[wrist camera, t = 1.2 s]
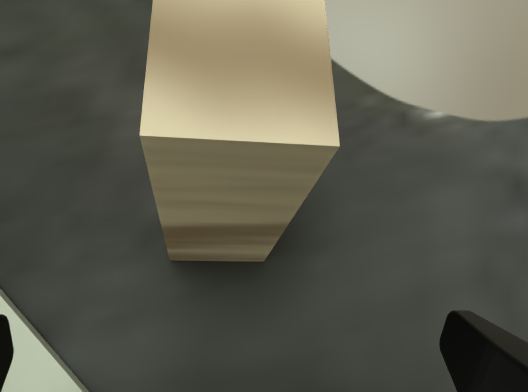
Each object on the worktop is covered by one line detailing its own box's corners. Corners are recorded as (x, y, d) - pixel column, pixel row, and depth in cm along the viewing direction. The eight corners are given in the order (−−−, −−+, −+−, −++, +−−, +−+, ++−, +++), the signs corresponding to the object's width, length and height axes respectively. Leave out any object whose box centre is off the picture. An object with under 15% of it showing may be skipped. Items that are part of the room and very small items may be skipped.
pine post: (264, 261, 23) (339, 146, 11) (169, 260, 22) (139, 135, 10) (261, 177, 25) (324, 0, 13) (175, 173, 24) (154, -19, 12)
